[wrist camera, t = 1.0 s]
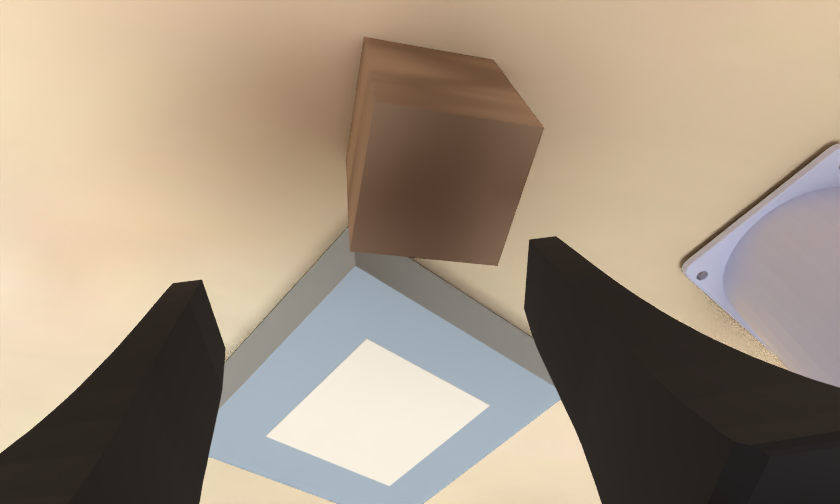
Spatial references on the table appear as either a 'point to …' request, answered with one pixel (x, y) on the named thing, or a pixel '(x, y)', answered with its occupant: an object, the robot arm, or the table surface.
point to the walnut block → (435, 154)
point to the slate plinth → (376, 383)
